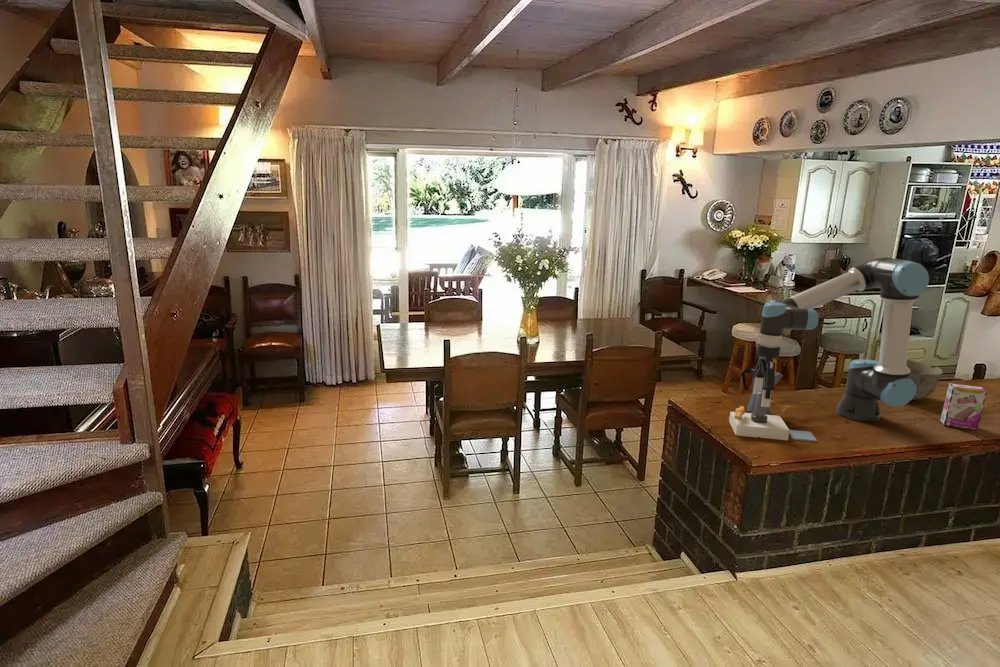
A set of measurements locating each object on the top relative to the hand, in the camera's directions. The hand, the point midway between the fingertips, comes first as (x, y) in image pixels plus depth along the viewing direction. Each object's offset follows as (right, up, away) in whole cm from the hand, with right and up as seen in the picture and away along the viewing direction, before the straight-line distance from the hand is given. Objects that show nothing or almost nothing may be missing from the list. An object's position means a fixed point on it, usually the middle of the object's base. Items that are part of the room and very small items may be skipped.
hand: (761, 400), depth 220 cm
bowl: (+82, -4, +42) cm, 92 cm away
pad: (+14, -13, -2) cm, 20 cm away
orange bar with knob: (-7, -5, +2) cm, 9 cm away
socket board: (0, -12, +3) cm, 12 cm away
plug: (0, -12, +3) cm, 12 cm away
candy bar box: (+82, -12, +11) cm, 84 cm away
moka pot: (+8, -8, +21) cm, 24 cm away
